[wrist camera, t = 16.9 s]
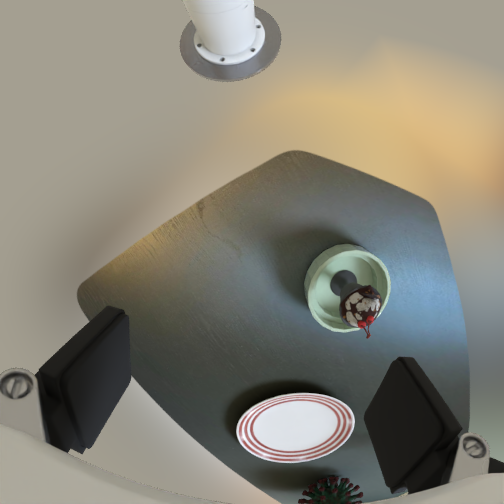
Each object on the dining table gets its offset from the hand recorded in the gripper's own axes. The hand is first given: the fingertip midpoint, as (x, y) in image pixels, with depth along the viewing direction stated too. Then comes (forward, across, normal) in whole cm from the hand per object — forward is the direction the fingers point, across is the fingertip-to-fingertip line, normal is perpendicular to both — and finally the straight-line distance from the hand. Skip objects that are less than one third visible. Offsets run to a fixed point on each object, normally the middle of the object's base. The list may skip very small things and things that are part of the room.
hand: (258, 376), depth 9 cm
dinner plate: (+38, -17, +45) cm, 62 cm away
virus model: (+38, -36, +75) cm, 92 cm away
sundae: (+38, -16, +8) cm, 42 cm away
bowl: (+38, -16, +8) cm, 42 cm away
